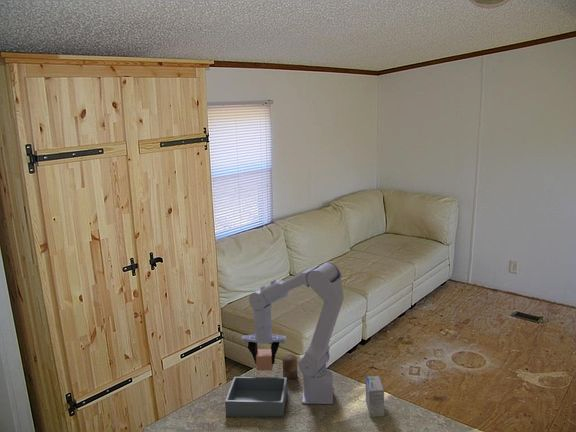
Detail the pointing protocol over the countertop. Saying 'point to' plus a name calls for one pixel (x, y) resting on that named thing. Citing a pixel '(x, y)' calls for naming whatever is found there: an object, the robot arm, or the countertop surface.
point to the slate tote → (256, 397)
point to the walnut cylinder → (289, 367)
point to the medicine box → (374, 396)
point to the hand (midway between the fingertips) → (265, 362)
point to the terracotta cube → (264, 359)
